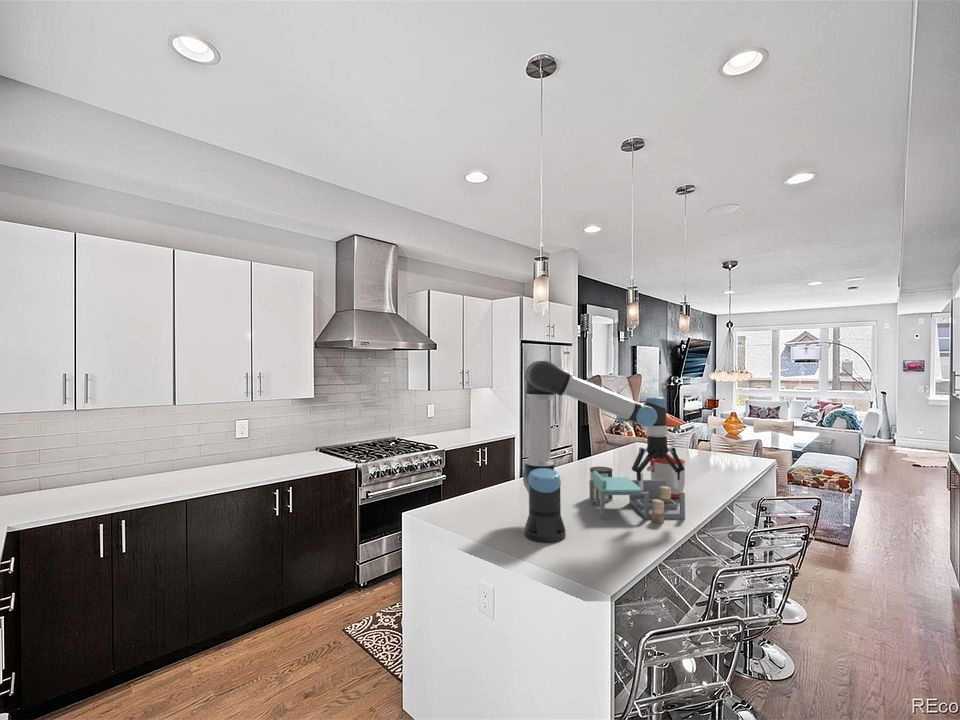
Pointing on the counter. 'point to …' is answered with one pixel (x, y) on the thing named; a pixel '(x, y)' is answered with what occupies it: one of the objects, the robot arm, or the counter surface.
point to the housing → (644, 500)
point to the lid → (614, 484)
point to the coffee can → (604, 473)
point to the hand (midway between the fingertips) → (658, 488)
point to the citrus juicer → (667, 474)
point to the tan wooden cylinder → (665, 494)
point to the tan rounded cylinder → (658, 511)
